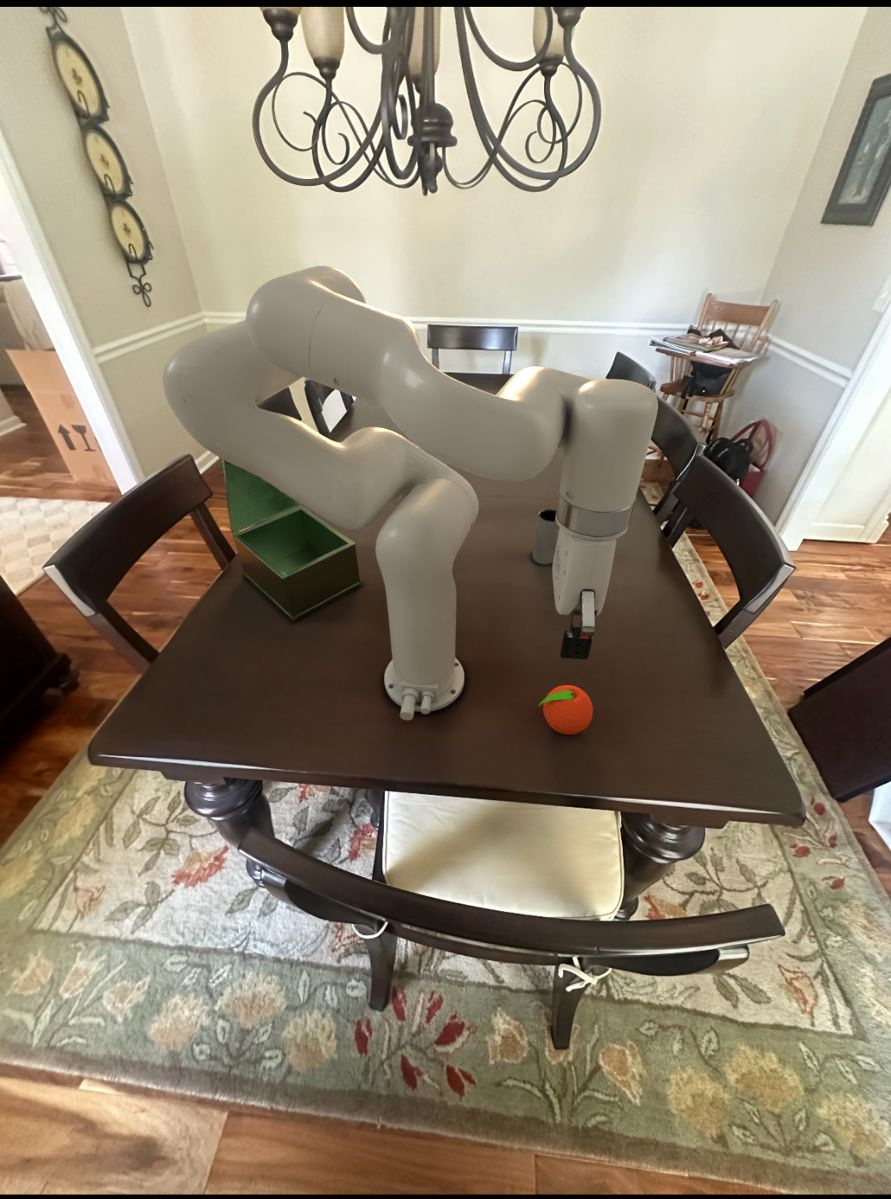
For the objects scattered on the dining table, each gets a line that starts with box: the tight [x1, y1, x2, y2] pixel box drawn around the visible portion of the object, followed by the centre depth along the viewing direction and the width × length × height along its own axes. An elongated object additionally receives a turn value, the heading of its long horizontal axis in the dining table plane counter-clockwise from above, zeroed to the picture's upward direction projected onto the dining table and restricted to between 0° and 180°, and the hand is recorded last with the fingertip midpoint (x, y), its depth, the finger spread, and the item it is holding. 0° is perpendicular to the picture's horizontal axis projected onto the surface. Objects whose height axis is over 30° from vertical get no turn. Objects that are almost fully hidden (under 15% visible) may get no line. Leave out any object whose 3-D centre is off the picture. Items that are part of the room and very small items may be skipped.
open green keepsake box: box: [232, 505, 362, 623], centre depth 97 cm, size 18×15×10 cm
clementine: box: [537, 684, 594, 736], centre depth 73 cm, size 8×7×7 cm
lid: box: [221, 458, 302, 535], centre depth 91 cm, size 19×15×5 cm
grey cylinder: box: [532, 509, 560, 565], centre depth 103 cm, size 4×4×10 cm
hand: (570, 628), depth 64 cm, fingers open, 9 cm apart
